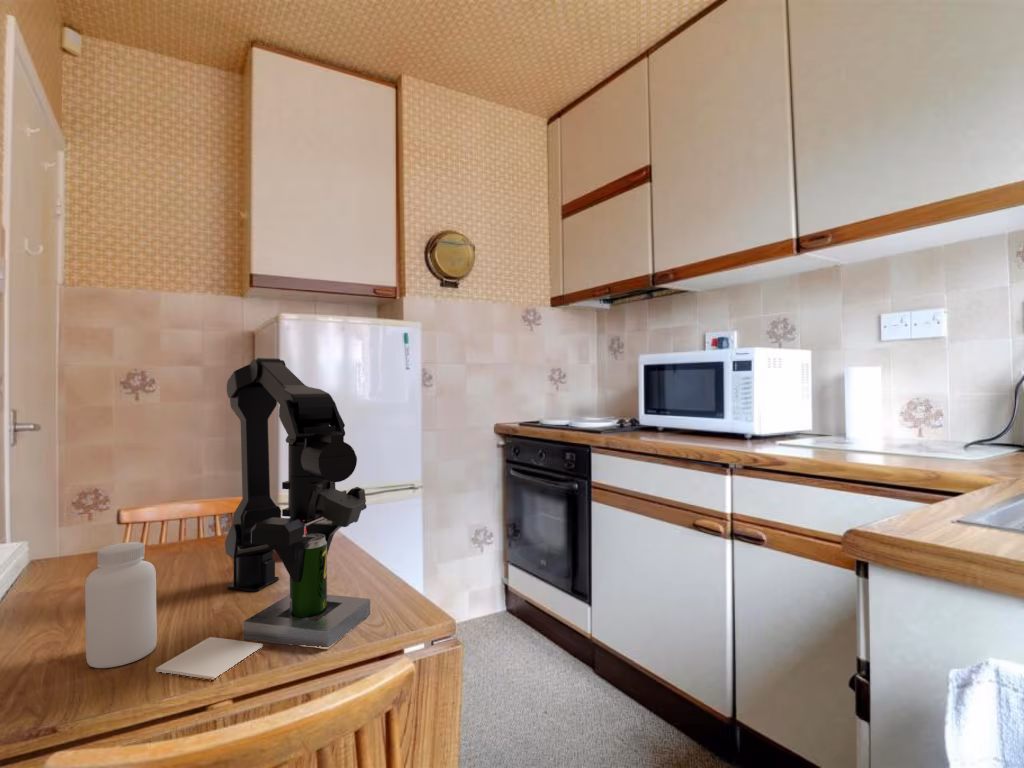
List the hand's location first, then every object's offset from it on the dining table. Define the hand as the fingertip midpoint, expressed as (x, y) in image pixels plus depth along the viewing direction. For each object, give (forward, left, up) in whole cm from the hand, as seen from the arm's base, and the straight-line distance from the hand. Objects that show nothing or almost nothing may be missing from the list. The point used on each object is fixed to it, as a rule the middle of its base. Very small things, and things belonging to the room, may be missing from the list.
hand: (308, 575), depth 83 cm
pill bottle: (-20, -13, -8) cm, 26 cm away
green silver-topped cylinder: (0, 0, -6) cm, 6 cm away
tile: (-7, -11, -8) cm, 16 cm away
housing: (0, +1, -8) cm, 8 cm away
